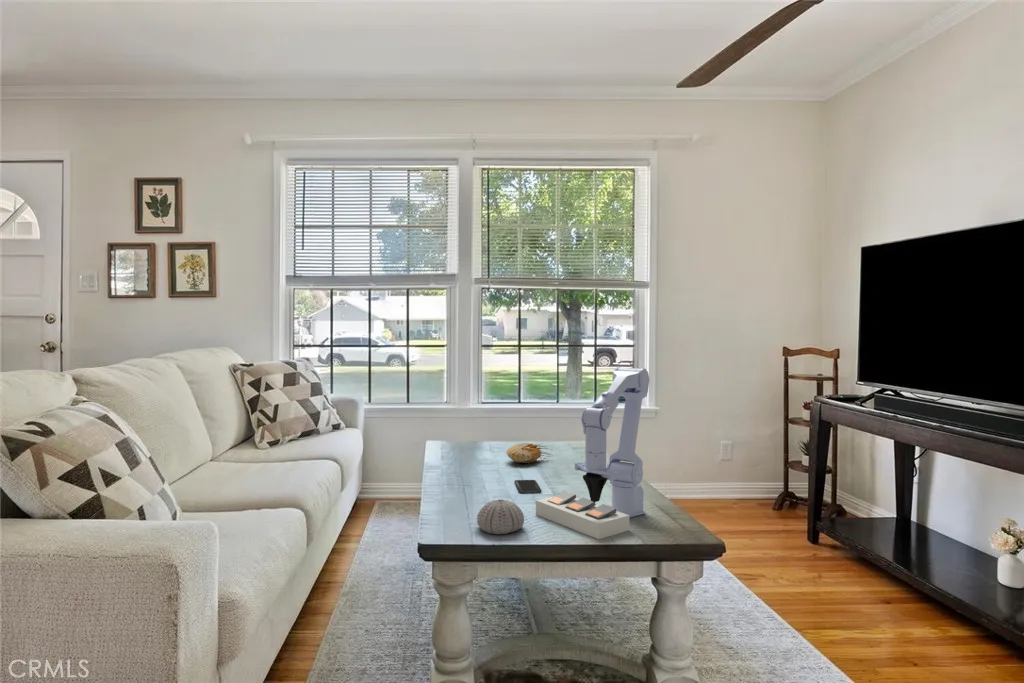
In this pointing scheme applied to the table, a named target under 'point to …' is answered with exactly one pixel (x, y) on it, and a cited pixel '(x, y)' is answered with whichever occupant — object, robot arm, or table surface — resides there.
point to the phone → (527, 486)
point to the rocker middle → (581, 505)
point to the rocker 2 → (601, 512)
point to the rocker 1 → (562, 498)
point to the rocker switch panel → (583, 519)
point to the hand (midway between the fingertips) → (595, 501)
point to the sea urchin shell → (500, 517)
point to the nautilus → (525, 452)
